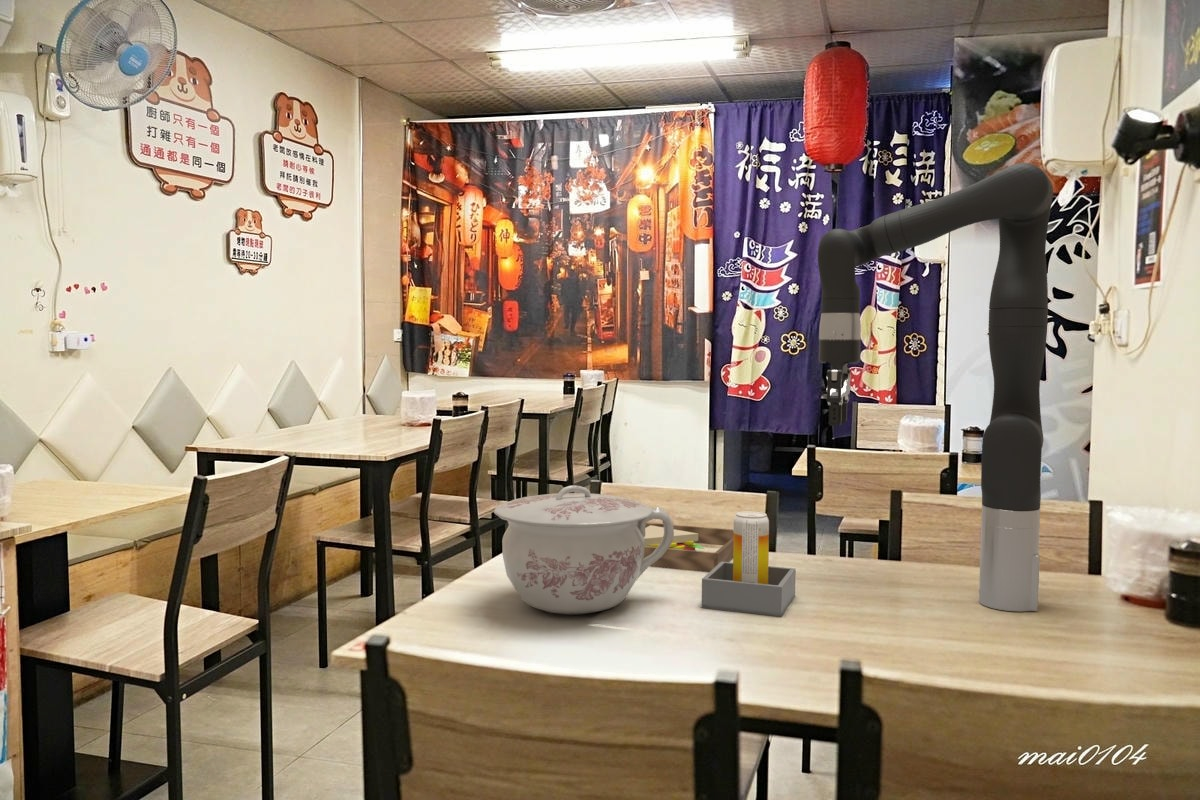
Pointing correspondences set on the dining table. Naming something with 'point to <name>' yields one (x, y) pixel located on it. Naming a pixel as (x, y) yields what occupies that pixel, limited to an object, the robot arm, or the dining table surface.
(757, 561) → the beer can
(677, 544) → the sandwich
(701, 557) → the serving board rim
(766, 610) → the box
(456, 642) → the dining table surface
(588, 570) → the chamber pot
